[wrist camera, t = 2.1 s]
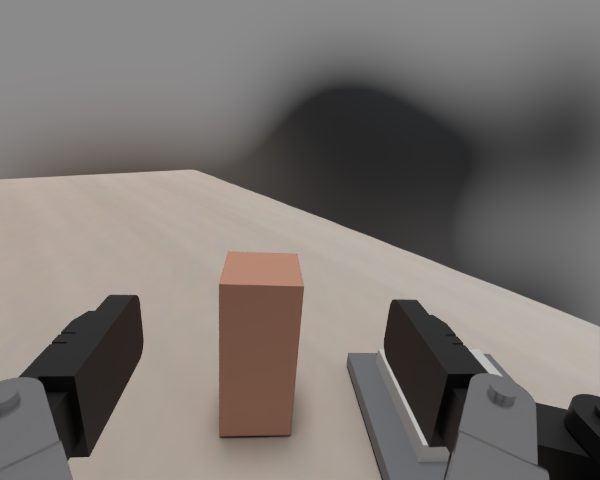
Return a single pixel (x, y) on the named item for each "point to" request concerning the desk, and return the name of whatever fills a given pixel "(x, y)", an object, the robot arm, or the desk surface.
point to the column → (258, 342)
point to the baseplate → (399, 419)
